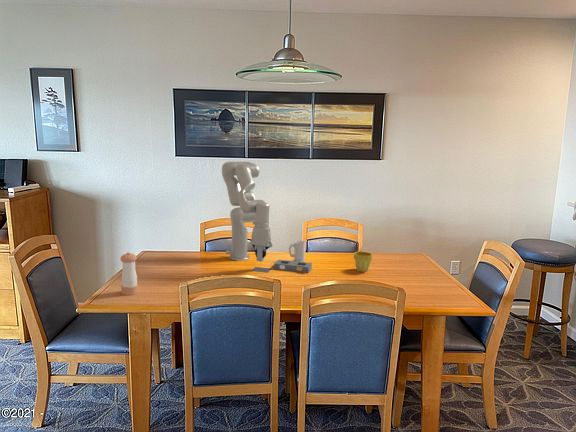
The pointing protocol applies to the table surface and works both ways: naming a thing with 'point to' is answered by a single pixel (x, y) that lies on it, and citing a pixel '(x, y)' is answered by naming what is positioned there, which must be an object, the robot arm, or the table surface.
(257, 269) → the mat
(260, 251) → the plug
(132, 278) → the salt shaker
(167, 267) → the table surface
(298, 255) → the mug
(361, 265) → the plant pot
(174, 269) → the table surface
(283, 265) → the socket strip
